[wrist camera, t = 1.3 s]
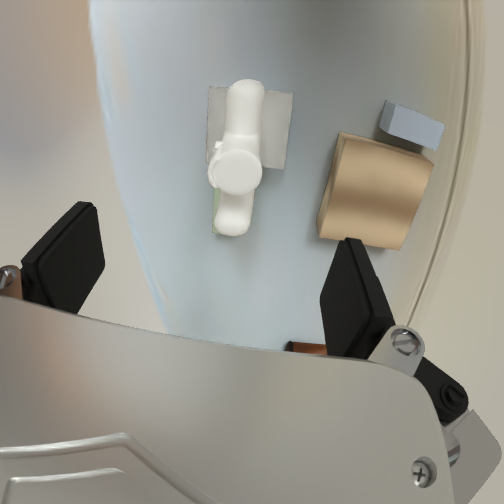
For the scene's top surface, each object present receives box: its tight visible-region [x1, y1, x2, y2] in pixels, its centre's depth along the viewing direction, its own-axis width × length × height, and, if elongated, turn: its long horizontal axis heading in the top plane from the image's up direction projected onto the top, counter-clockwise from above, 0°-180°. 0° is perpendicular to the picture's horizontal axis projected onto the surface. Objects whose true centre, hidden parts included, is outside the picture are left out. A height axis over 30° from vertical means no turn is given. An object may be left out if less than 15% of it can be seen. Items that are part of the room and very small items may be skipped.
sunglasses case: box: [285, 341, 327, 355], centre depth 52 cm, size 18×7×7 cm, turn 175°
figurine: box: [206, 79, 294, 236], centre depth 22 cm, size 7×9×15 cm
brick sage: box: [212, 187, 221, 234], centre depth 33 cm, size 6×3×3 cm, turn 174°
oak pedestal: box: [316, 132, 434, 250], centre depth 30 cm, size 11×10×3 cm
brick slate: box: [379, 101, 445, 151], centre depth 26 cm, size 6×3×3 cm, turn 81°
